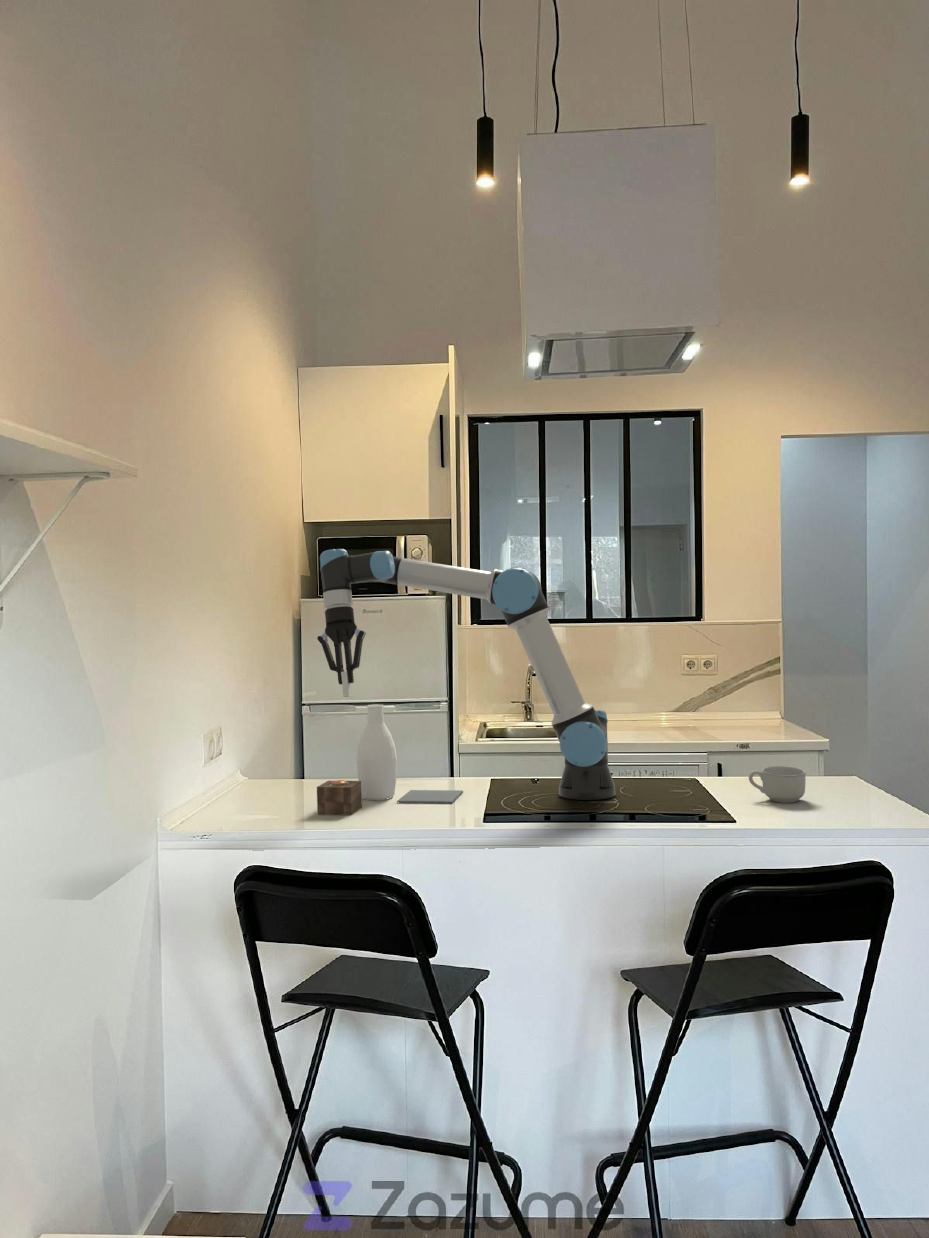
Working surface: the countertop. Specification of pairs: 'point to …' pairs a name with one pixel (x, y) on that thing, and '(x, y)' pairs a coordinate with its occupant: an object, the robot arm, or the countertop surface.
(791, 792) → the teacup
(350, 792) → the button housing
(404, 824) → the countertop surface
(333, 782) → the release button
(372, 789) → the bottle
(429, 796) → the mat
